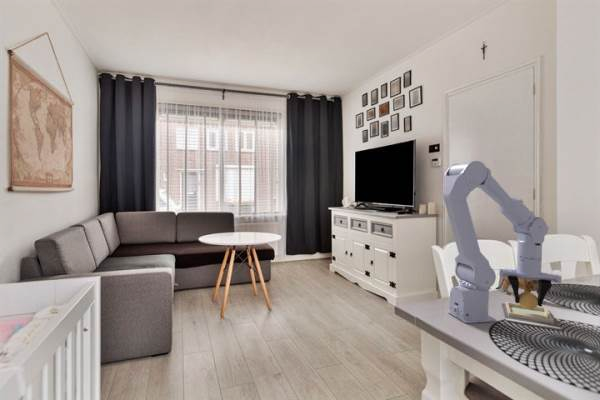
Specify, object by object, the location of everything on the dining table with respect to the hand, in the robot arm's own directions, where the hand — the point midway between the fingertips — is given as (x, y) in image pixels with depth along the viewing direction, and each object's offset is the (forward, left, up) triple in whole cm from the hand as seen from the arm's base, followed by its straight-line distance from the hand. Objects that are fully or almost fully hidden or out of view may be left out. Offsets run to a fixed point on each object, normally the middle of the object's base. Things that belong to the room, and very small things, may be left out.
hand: (528, 303), depth 92 cm
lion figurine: (+13, +15, -3) cm, 20 cm away
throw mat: (-1, -1, -3) cm, 3 cm away
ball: (0, 0, +1) cm, 1 cm away
